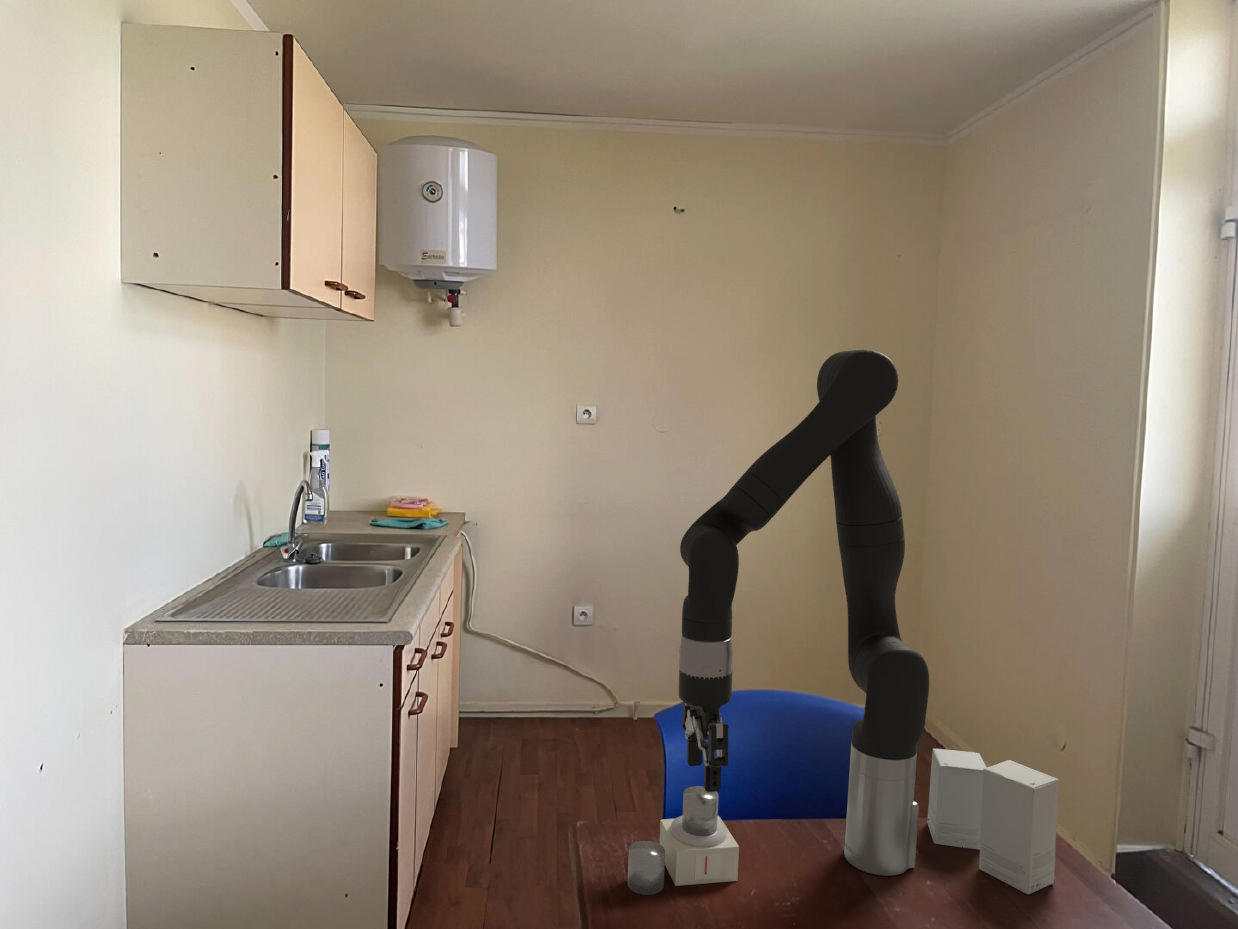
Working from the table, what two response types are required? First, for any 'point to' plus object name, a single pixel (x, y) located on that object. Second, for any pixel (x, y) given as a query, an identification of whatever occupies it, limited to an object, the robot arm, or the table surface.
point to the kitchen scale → (699, 854)
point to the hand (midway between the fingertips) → (703, 777)
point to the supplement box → (956, 798)
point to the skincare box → (1019, 826)
